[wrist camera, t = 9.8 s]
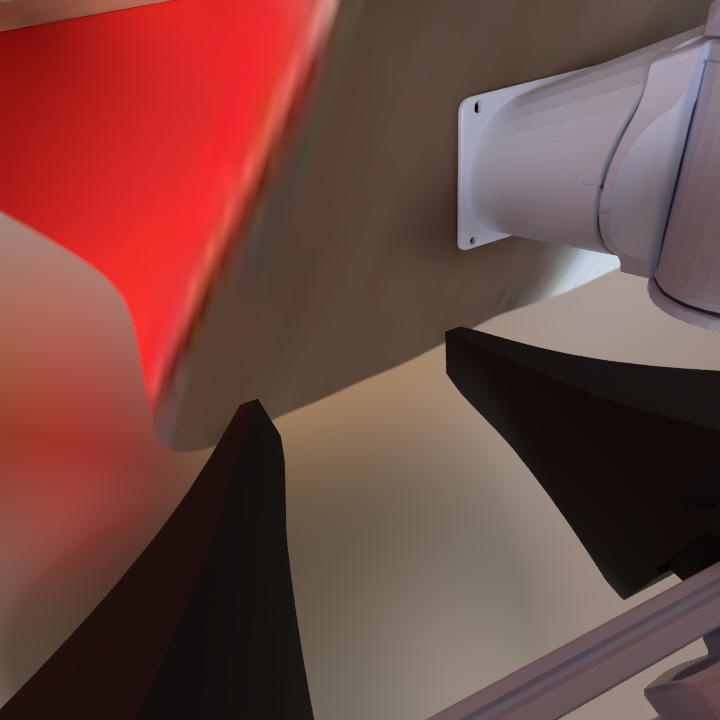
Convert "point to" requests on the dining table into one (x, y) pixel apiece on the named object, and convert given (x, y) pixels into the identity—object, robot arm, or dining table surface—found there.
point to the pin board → (57, 10)
